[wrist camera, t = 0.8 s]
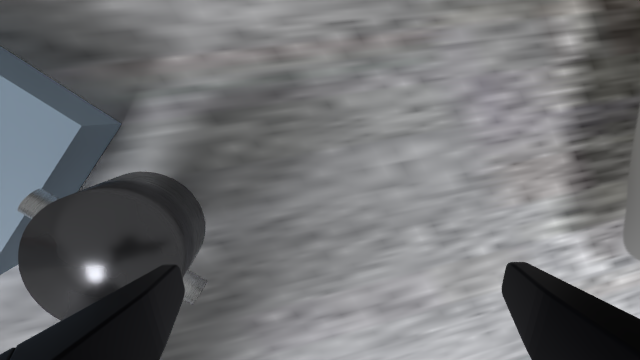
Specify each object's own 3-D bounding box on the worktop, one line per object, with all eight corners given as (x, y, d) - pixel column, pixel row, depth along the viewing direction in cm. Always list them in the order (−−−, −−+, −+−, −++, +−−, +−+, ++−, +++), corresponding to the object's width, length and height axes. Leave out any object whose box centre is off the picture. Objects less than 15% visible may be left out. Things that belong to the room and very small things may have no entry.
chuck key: (248, 204, 21) (230, 256, 13) (198, 274, 22) (152, 364, 14) (137, 133, 19) (42, 145, 12) (85, 211, 20) (-39, 273, 12)
